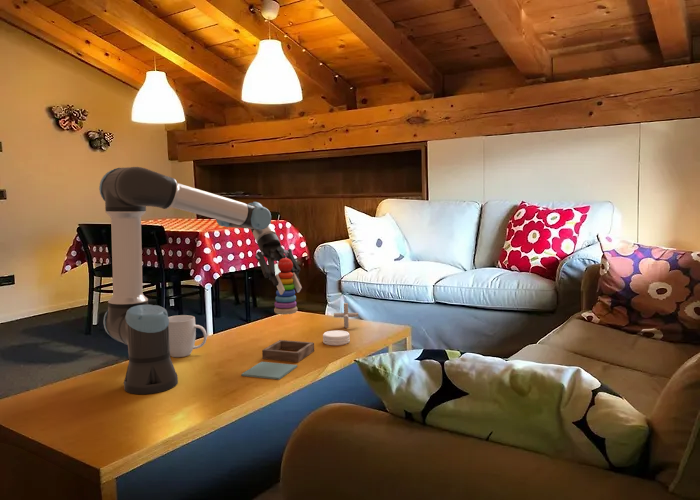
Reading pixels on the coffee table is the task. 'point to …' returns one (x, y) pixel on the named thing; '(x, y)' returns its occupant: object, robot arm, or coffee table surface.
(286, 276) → the stacking toy
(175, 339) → the mug
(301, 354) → the tray
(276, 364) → the mat
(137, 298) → the robot arm
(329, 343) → the white coaster stack
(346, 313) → the pipe connector
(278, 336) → the coffee table surface
